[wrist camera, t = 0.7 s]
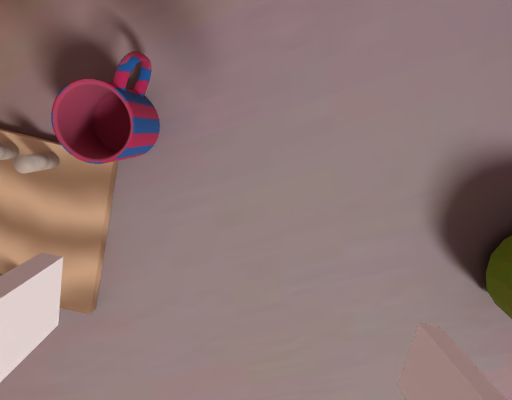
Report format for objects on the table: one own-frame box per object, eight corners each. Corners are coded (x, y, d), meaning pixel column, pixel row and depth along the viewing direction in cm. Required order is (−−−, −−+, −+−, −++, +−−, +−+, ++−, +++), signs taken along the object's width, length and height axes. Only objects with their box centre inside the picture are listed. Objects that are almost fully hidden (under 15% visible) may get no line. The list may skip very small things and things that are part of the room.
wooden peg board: (-39, 118, 31) (-96, 116, 26) (118, 157, 32) (93, 162, 27) (-46, 278, 35) (-97, 303, 30) (95, 308, 36) (69, 337, 31)
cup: (81, 129, 32) (35, 128, 25) (136, 46, 30) (103, 23, 23) (135, 170, 33) (105, 180, 26) (192, 92, 31) (175, 82, 24)
